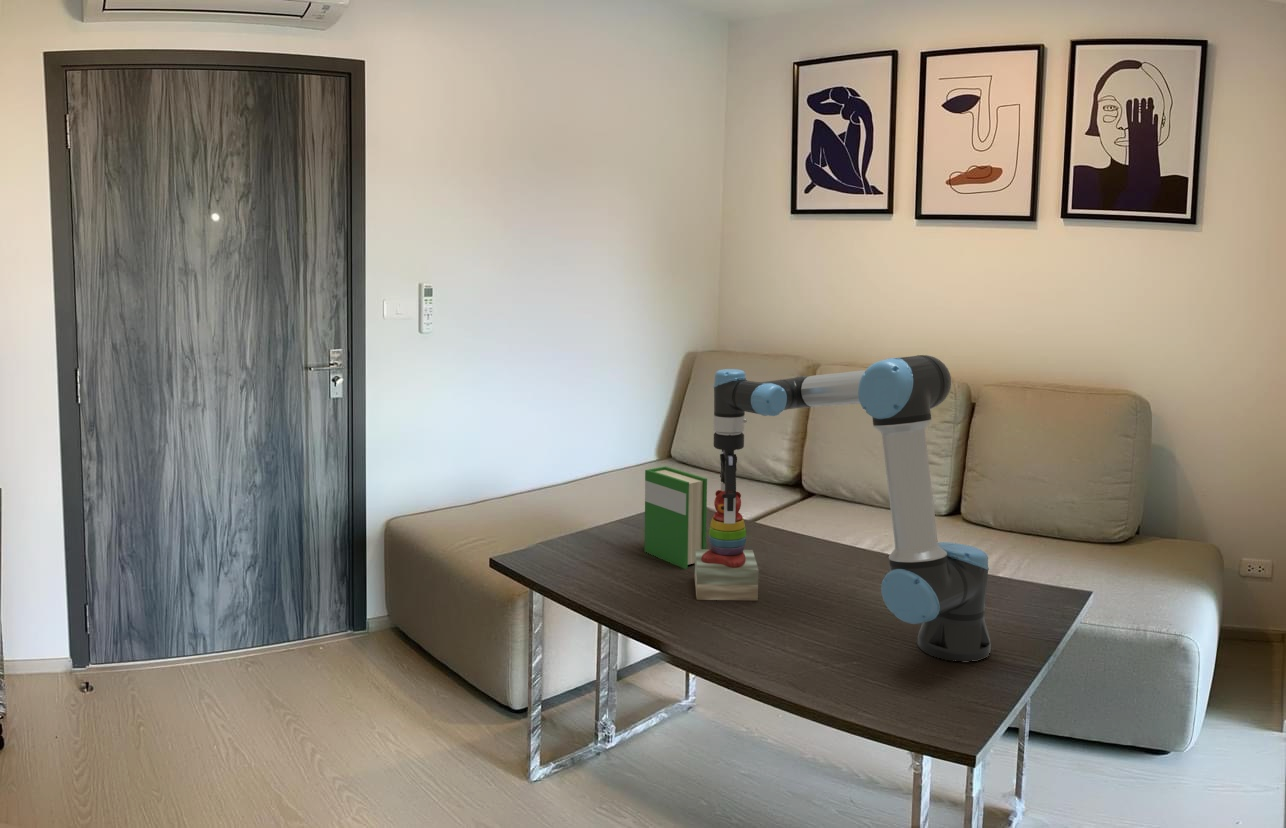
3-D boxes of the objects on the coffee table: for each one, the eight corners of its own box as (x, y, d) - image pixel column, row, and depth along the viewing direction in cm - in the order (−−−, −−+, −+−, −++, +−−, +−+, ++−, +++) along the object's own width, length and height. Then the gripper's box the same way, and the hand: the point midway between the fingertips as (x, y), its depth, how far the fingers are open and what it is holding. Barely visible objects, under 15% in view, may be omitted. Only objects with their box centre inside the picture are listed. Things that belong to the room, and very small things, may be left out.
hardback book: (705, 563, 260) (707, 478, 256) (684, 569, 255) (686, 482, 251) (664, 547, 274) (665, 466, 269) (644, 552, 269) (645, 470, 265)
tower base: (757, 600, 233) (758, 569, 232) (696, 599, 233) (697, 568, 232) (751, 579, 248) (752, 549, 247) (694, 578, 248) (695, 549, 247)
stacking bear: (698, 561, 237) (699, 493, 234) (714, 550, 246) (716, 484, 243) (738, 569, 232) (740, 498, 229) (753, 557, 241) (755, 489, 238)
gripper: (748, 442, 221) (747, 529, 225) (739, 423, 246) (738, 502, 249) (716, 442, 221) (715, 529, 225) (710, 423, 246) (709, 502, 249)
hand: (727, 515), depth 237 cm, fingers open, 13 cm apart
